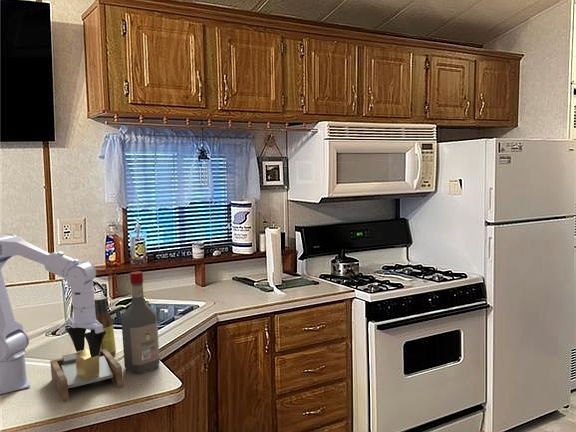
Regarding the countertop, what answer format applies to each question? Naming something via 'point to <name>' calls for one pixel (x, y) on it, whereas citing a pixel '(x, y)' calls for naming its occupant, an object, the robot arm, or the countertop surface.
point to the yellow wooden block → (87, 365)
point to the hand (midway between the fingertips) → (87, 353)
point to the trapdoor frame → (61, 380)
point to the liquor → (139, 331)
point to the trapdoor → (75, 380)
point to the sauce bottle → (105, 325)
